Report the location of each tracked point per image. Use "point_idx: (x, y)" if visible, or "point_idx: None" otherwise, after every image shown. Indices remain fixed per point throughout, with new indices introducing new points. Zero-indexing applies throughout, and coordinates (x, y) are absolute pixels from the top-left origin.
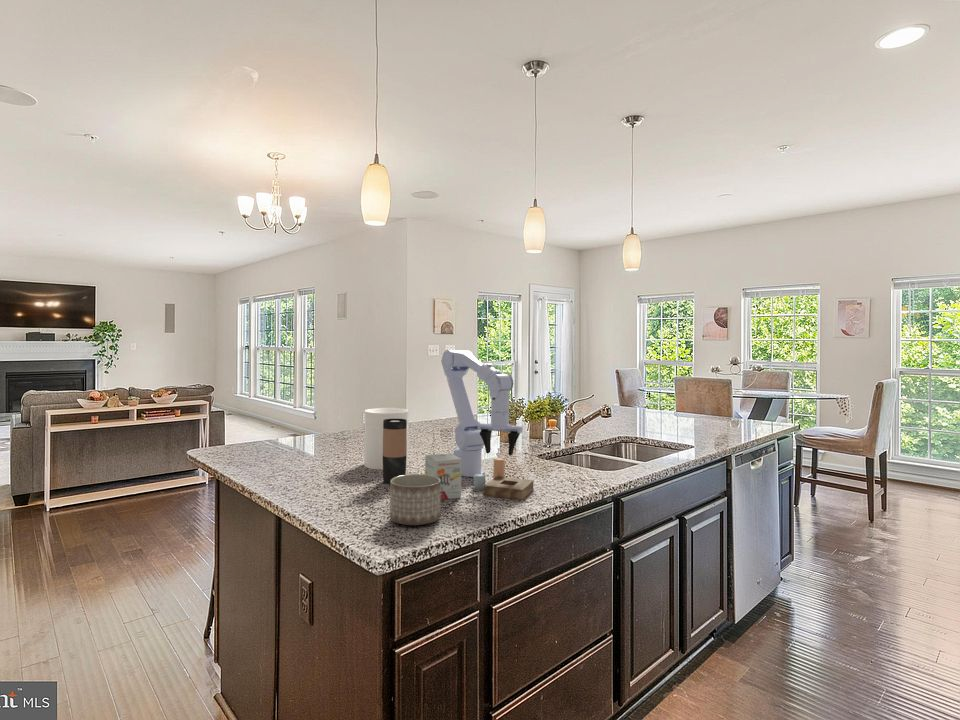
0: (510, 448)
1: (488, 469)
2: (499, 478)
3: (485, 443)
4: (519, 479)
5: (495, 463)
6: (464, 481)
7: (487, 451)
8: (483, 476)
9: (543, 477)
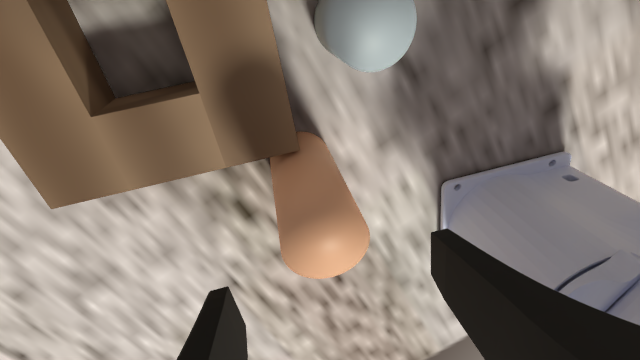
0: (193, 347)
1: (447, 305)
2: (254, 112)
3: (518, 285)
4: (134, 171)
5: (331, 192)
6: (477, 96)
7: (444, 238)
8: (337, 19)
9: None
